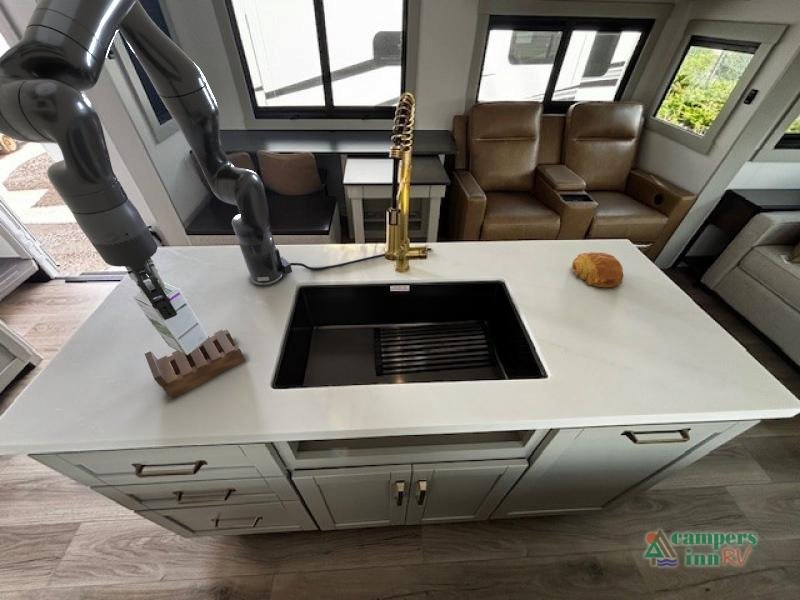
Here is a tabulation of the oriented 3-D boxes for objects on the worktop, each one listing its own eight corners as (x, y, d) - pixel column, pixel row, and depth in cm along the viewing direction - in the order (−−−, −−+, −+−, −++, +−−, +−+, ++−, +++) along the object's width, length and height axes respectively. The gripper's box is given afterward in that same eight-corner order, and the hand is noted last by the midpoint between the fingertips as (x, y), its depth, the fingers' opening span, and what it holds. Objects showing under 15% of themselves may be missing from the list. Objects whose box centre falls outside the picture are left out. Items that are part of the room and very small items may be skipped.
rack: (232, 340, 82) (221, 318, 76) (245, 360, 77) (235, 338, 72) (162, 375, 74) (144, 353, 68) (172, 399, 69) (153, 378, 64)
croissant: (564, 266, 113) (569, 246, 108) (612, 264, 111) (620, 244, 106) (577, 292, 102) (584, 272, 97) (631, 291, 100) (641, 270, 95)
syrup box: (209, 337, 71) (181, 286, 61) (186, 357, 67) (151, 306, 57) (191, 328, 72) (160, 278, 62) (167, 347, 68) (130, 296, 58)
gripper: (155, 241, 49) (198, 317, 60) (134, 206, 57) (176, 279, 68) (95, 259, 45) (152, 336, 56) (81, 219, 53) (134, 294, 64)
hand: (165, 305), depth 62 cm, fingers closed on syrup box, 7 cm apart
